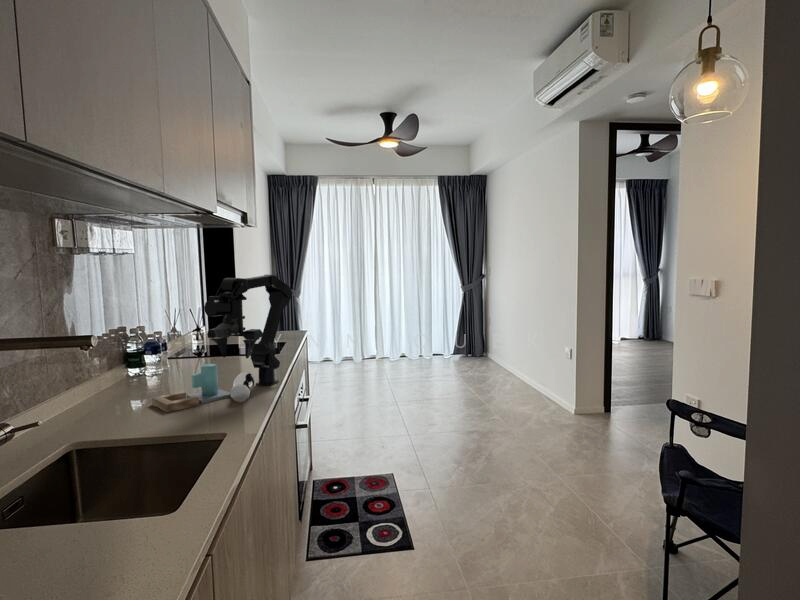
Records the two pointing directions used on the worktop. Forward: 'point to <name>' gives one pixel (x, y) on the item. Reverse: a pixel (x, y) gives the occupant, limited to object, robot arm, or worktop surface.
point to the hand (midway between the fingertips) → (235, 357)
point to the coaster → (206, 399)
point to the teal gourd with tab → (206, 380)
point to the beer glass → (242, 387)
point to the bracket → (174, 401)
